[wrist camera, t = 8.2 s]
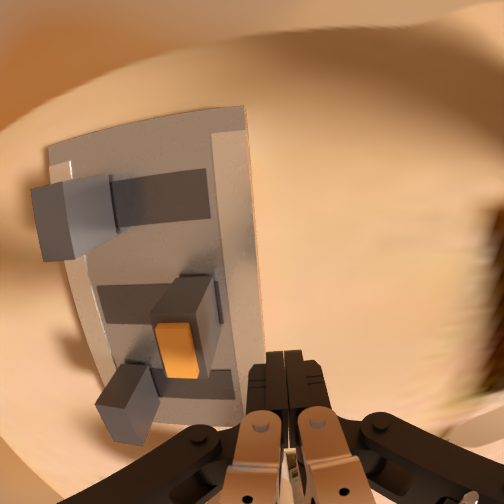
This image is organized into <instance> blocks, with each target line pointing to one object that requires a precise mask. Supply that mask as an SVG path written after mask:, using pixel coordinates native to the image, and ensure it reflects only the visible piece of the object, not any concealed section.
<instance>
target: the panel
mask: <svg viewBox="0 0 504 504" xmlns="http://www.w3.org/2000/svg"><path fill="white" fill-rule="evenodd" d="M48 153H49V174H50V183H51V184H53V183H57V182H61V181H67V180H73V179H80V178H87V177H94V176H101V175H108V177H109V185H110V193H111V201H112V208H113V215H114V221H115V228H116V234H117V236H116V237H114V238H113V239H111V240H109V241H107V242H105V243H104V244H102V245H100V246H98V247H97V248H95V249H93V250H91V251H90V252H88V253H86V254H84V255H83V256H81V257H79V258H78V259H76V260H65V261H64V264H65V268H66V272H67V276H68V280H69V284H70V288H71V291H72V295H73V298H74V302H75V305H76V309H77V312H78V315H79V319H80V322H81V325H82V328H83V331H84V334H85V337H86V340H87V343H88V345H89V348H90V351H91V354H92V356H93V359H94V362H95V364H96V367H97V369H98V372H99V374H100V377H101V379H102V382H103V384H104V386H105V387H106V386H107V384H108V382H109V381H110V379H111V378H112V376H113V375H114V373H115V372H116V370H117V369H118V367H119V366H120V364H134V365H148V367H149V370H150V373H151V377H152V380H153V383H154V386H155V389H156V392H157V394H158V397H159V400H160V405H159V407H158V410H157V412H156V415H155V417H154V420H153V422H158V423H168V424H179V425H197V424H205V425H209V426H219V427H235V426H237V425H238V424H239V423H241V421H242V419H243V418H244V417H245V414H246V400H247V389H248V388H247V386H248V372H249V370H250V369H251V368H252V366H253V365H254V364H265V363H266V350H265V337H264V324H263V311H262V298H261V285H260V272H259V260H258V247H257V235H256V222H255V210H254V198H253V186H252V174H251V162H250V150H249V138H248V127H247V115H246V109H245V107H244V105H243V106H233V107H224V108H216V109H208V110H201V111H194V112H187V113H181V114H175V115H169V116H164V117H158V118H153V119H148V120H143V121H139V122H134V123H130V124H125V125H121V126H117V127H113V128H109V129H105V130H101V131H97V132H93V133H90V134H86V135H83V136H79V137H76V138H72V139H69V140H66V141H63V142H60V143H57V144H53V145H50V146H48ZM200 276H213V280H214V288H215V295H216V302H217V309H218V316H219V323H220V330H221V333H220V337H219V340H218V344H217V348H216V352H215V355H214V359H213V363H212V367H211V371H210V374H209V378H208V379H189V378H166V376H165V373H164V369H163V366H162V362H161V359H160V355H159V351H158V348H157V344H156V340H155V336H154V332H153V328H152V324H151V320H150V316H149V313H150V312H151V311H152V309H153V308H154V306H155V305H156V304H157V302H158V301H159V300H160V298H161V297H162V296H163V294H164V293H165V292H166V290H167V289H168V288H169V286H170V285H171V284H172V282H173V281H174V280H175V278H180V277H200Z"/></svg>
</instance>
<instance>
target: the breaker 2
mask: <svg viewBox="0 0 504 504" xmlns="http://www.w3.org/2000/svg"><path fill="white" fill-rule="evenodd" d="M159 405H160V400H159V397H158V394H157V392H156V389H155V386H154V383H153V380H152V377H151V373H150V370H149V367H148V365H134V364H120V366H119V367H118V369H117V370H116V372H115V373H114V375H113V376H112V378H111V379H110V381H109V382H108V384H107V386H106V387H105V389H104V390H103V392H102V393H101V395H100V396H99V398H98V399H97V401H96V403H95V406H96V408H97V410H98V412H99V414H100V416H101V418H102V420H103V422H104V424H105V425H106V427H107V429H108V431H109V433H110V435H111V436H112V438H113V440H114V441H115V442H120V443H126V444H131V445H137V446H143V444H144V442H145V439H146V437H147V434H148V432H149V429H150V427H151V424H152V422H153V420H154V417H155V415H156V412H157V410H158V407H159Z"/></svg>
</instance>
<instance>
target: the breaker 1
mask: <svg viewBox="0 0 504 504" xmlns="http://www.w3.org/2000/svg"><path fill="white" fill-rule="evenodd" d="M31 196H32V203H33V210H34V216H35V222H36V228H37V233H38V238H39V243H40V248H41V252H42V257H43V261H44V262H51V261H65V260H76V259H78V258H79V257H81V256H83V255H84V254H86V253H88V252H90V251H91V250H93V249H95V248H97V247H98V246H100V245H102V244H104V243H105V242H107V241H109V240H111V239H113V238H114V237H116V236H117V234H116V228H115V221H114V215H113V208H112V201H111V193H110V185H109V177H108V175H101V176H94V177H87V178H80V179H73V180H67V181H61V182H57V183H53V184H49V185H45V186H42V187H38V188H34V189H31Z"/></svg>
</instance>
